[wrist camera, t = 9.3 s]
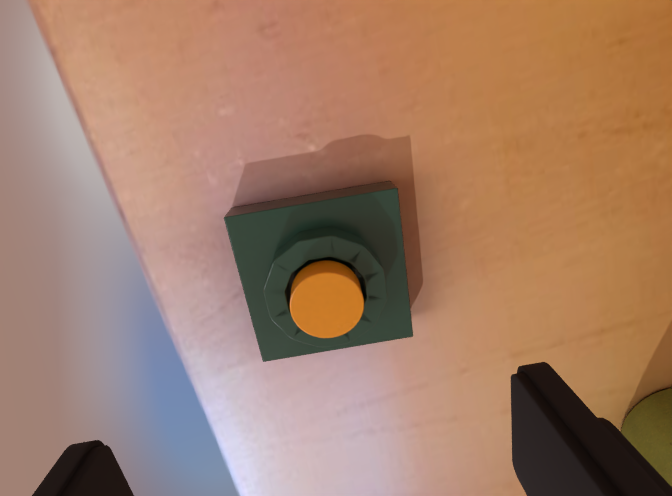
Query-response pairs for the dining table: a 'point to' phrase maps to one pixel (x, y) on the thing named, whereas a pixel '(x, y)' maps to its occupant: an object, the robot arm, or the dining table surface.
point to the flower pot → (653, 431)
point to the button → (326, 299)
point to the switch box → (318, 245)
